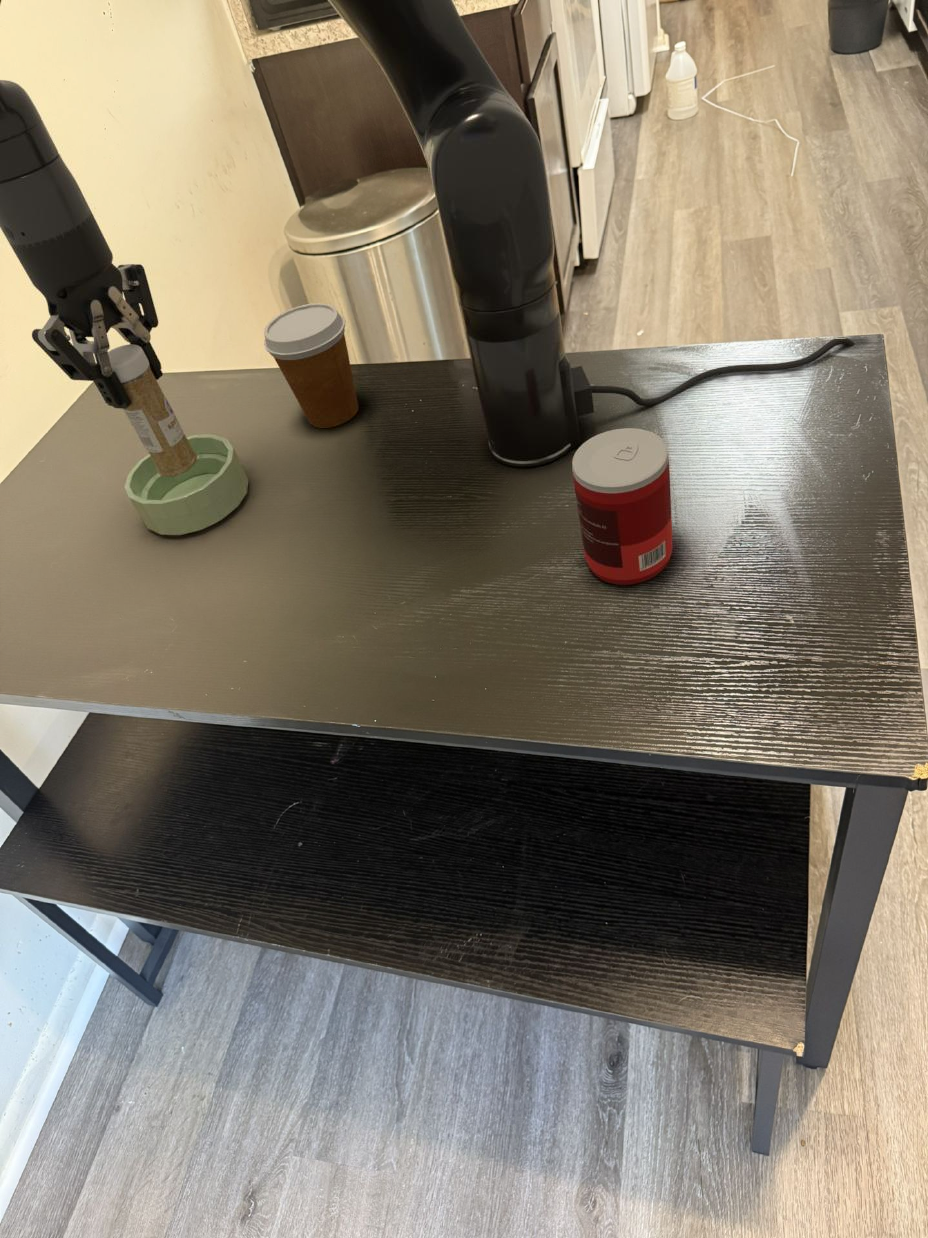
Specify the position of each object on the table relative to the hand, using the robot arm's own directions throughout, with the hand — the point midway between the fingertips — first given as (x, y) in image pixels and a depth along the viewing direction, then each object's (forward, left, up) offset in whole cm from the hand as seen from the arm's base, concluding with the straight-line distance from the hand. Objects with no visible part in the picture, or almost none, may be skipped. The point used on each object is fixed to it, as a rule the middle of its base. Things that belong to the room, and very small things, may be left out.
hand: (138, 390), depth 87 cm
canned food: (-43, +25, -15) cm, 52 cm away
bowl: (0, 0, -15) cm, 15 cm away
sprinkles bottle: (0, 0, -10) cm, 10 cm away
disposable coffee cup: (-16, -12, -15) cm, 25 cm away
